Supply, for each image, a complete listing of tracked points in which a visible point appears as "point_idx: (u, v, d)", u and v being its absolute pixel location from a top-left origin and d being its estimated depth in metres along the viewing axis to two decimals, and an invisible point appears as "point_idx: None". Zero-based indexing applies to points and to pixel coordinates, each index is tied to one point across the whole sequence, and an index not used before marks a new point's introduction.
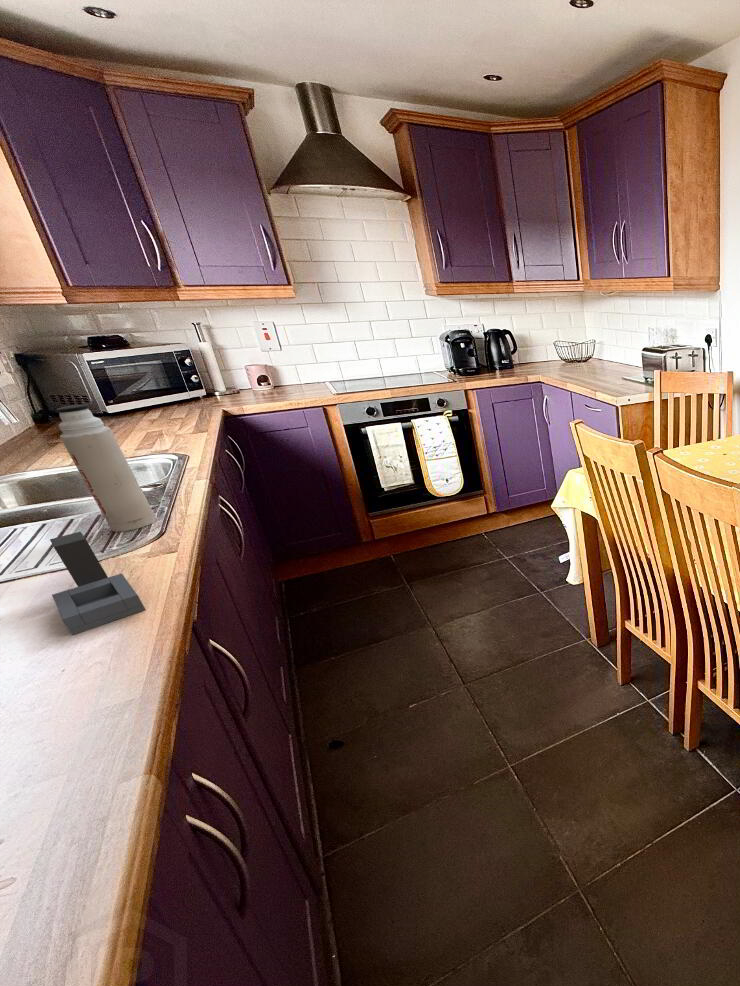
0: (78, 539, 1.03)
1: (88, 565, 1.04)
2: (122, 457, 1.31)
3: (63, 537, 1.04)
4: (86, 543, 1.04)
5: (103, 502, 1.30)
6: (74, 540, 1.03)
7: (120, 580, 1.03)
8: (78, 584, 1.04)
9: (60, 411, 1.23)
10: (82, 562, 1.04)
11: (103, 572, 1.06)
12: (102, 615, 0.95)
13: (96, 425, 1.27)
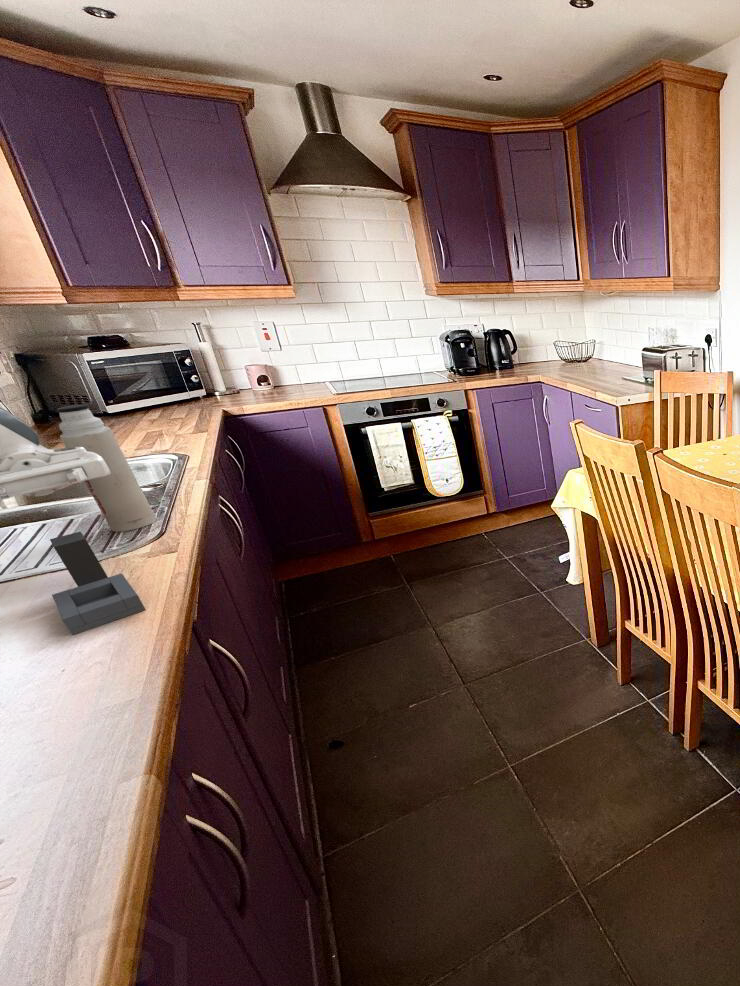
0: (78, 539, 1.03)
1: (88, 565, 1.04)
2: (122, 457, 1.31)
3: (63, 537, 1.04)
4: (86, 543, 1.04)
5: (103, 502, 1.30)
6: (74, 540, 1.03)
7: (120, 580, 1.03)
8: (78, 584, 1.04)
9: (60, 411, 1.23)
10: (82, 562, 1.04)
11: (103, 572, 1.06)
12: (102, 615, 0.95)
13: (96, 425, 1.27)
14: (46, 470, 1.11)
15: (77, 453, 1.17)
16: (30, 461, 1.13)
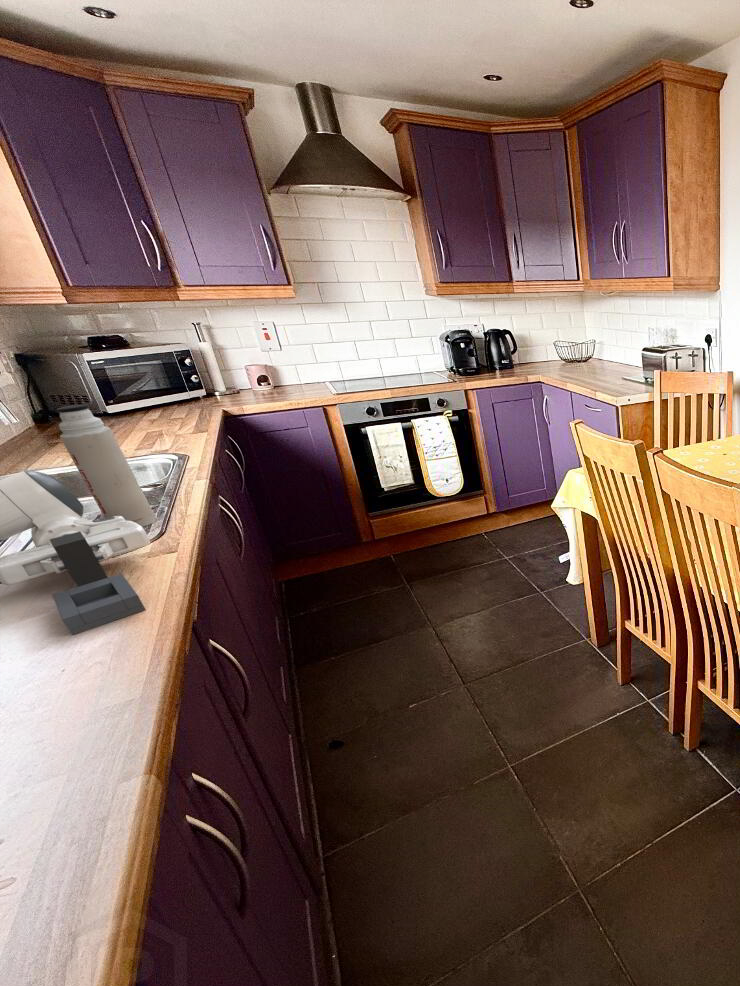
0: (78, 539, 1.03)
1: (88, 565, 1.04)
2: (122, 457, 1.31)
3: (63, 537, 1.04)
4: (86, 543, 1.03)
5: (103, 502, 1.30)
6: (74, 540, 1.03)
7: (120, 580, 1.03)
8: (78, 584, 1.04)
9: (60, 411, 1.23)
10: (82, 562, 1.04)
11: (103, 572, 1.06)
12: (102, 615, 0.95)
13: (96, 425, 1.27)
14: None
15: (116, 523, 1.15)
16: None
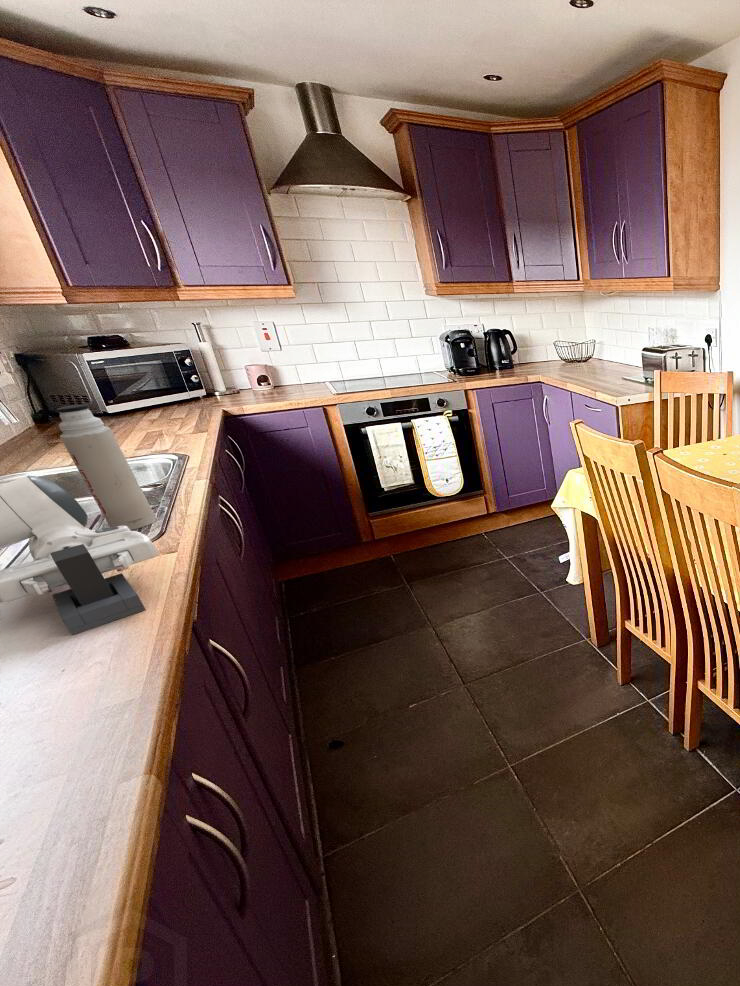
0: (81, 553, 0.95)
1: (92, 581, 0.96)
2: (122, 457, 1.31)
3: (64, 550, 0.96)
4: (89, 557, 0.95)
5: (103, 502, 1.30)
6: (76, 554, 0.94)
7: (120, 580, 1.03)
8: (81, 602, 0.96)
9: (60, 411, 1.23)
10: (85, 577, 0.95)
11: (108, 588, 0.98)
12: (102, 615, 0.95)
13: (96, 425, 1.27)
14: None
15: (121, 533, 1.07)
16: (71, 546, 1.02)
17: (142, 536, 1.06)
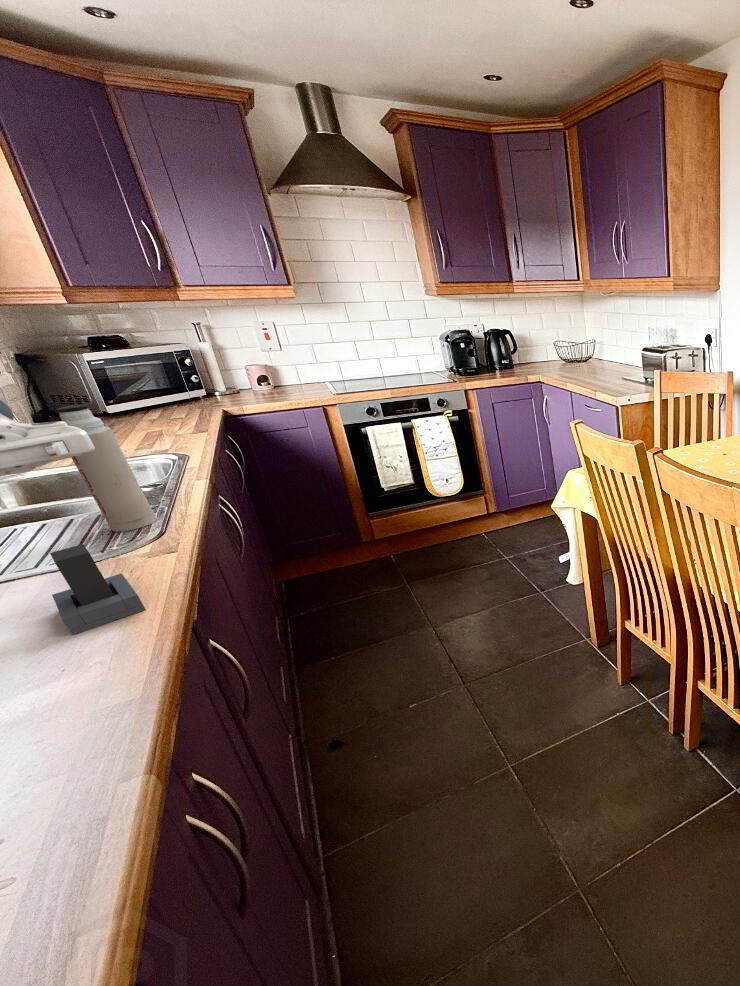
0: (81, 553, 0.95)
1: (92, 581, 0.96)
2: (122, 457, 1.31)
3: (64, 550, 0.96)
4: (89, 557, 0.95)
5: (103, 502, 1.30)
6: (76, 554, 0.94)
7: (120, 580, 1.03)
8: (81, 602, 0.96)
9: (60, 411, 1.23)
10: (85, 577, 0.95)
11: (108, 588, 0.98)
12: (102, 615, 0.95)
13: (96, 425, 1.27)
14: (22, 443, 1.00)
15: (58, 427, 1.07)
16: (5, 434, 1.02)
17: (79, 429, 1.06)
